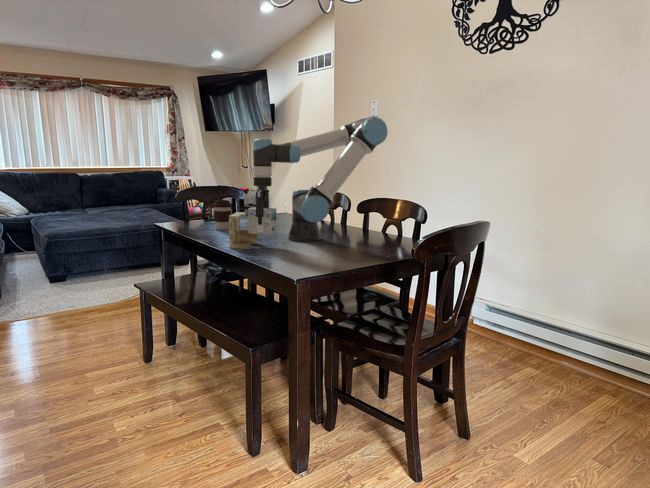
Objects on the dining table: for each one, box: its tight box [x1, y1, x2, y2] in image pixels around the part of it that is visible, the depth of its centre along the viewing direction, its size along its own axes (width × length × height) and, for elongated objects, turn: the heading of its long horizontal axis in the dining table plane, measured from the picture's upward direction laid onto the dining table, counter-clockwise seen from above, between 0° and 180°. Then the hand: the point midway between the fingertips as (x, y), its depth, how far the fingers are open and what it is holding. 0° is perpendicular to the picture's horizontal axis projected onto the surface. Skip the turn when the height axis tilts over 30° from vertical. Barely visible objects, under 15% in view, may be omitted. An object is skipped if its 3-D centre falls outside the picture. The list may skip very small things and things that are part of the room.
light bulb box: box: [247, 206, 278, 236], centre depth 194 cm, size 11×7×11 cm, turn 76°
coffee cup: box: [211, 199, 233, 231], centre depth 236 cm, size 10×10×15 cm
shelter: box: [228, 211, 259, 250], centre depth 196 cm, size 12×9×14 cm
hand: (262, 230), depth 195 cm, fingers closed on light bulb box, 7 cm apart
